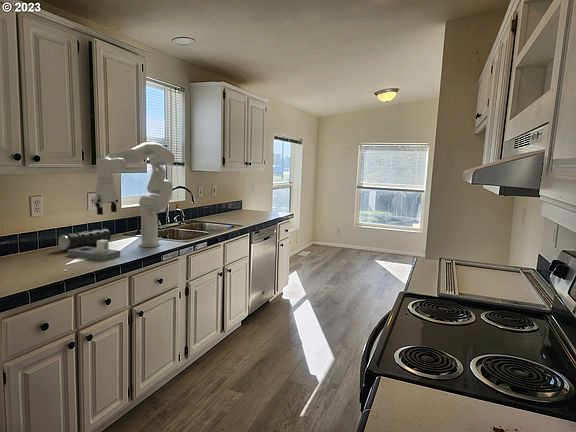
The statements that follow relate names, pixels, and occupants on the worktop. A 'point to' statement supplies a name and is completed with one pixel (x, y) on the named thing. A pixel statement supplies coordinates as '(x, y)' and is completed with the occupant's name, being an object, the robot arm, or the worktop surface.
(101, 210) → the robot arm
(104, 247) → the plug
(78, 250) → the socket block
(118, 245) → the worktop surface
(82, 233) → the black flashlight
